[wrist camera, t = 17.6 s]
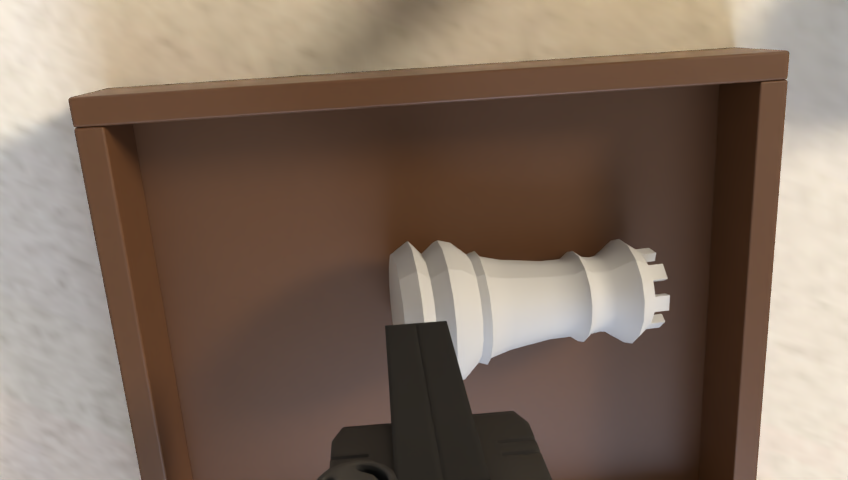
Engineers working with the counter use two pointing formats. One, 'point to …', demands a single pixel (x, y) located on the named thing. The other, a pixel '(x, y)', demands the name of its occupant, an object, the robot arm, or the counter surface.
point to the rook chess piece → (525, 297)
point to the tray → (421, 226)
